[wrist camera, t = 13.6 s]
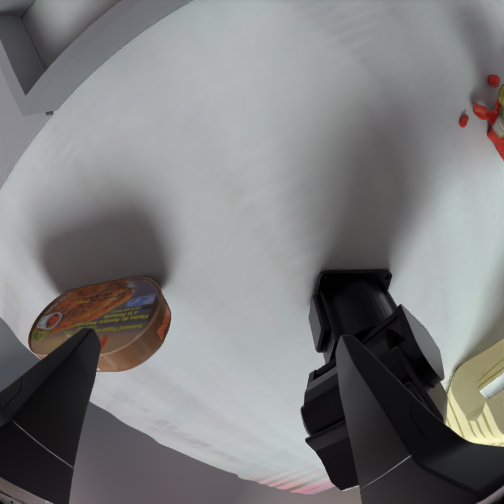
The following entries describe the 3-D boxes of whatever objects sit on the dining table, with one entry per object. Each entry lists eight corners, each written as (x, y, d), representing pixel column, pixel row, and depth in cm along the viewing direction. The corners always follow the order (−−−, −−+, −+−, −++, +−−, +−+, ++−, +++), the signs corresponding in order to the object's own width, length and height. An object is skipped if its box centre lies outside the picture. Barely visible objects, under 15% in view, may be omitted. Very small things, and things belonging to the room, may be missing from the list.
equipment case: (197, -3, 12) (184, -26, 8) (-5, 198, 18) (-31, 215, 15) (125, -79, 6) (107, -98, 3) (-44, 113, 13) (-69, 121, 9)
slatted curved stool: (453, 341, 28) (506, 450, 12) (527, 294, 25) (585, 375, 9) (429, 420, 41) (450, 487, 26) (487, 388, 38) (513, 448, 23)
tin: (171, 267, 22) (140, 346, 15) (185, 298, 23) (163, 377, 16) (52, 292, 24) (12, 347, 16) (66, 315, 25) (32, 371, 18)
